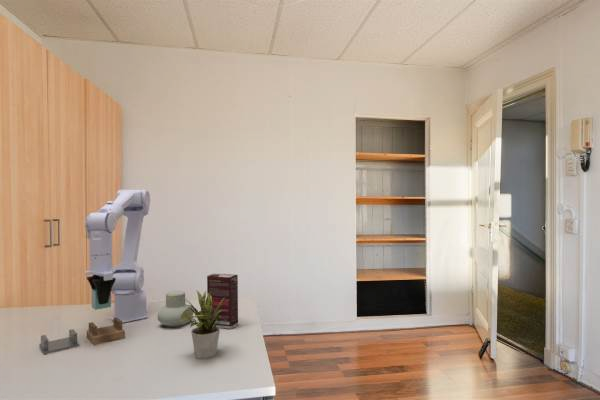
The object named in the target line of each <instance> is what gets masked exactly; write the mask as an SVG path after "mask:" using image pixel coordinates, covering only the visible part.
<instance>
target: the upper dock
mask: <svg viewBox="0 0 600 400" xmlns="http://www.w3.org/2000/svg"><path fill="white" fill-rule="evenodd" d="M113 320H114V321H113ZM113 320H112V321H113V324H112V325H107V326H103V327H98V326H97V325H96V323H94V322H93V321H92V322H88V330H86V339H87V340H88V341H89V342H90V343H91V344H92V345H93V346H98V345H102V344H105V343H110V342H113V341H118V340H123V339H126V332H125V330H124V329H123V323H122V321H121V320H120V319H119V318H117V317H116V318H113Z"/></svg>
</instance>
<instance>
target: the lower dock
mask: <svg viewBox="0 0 600 400" xmlns="http://www.w3.org/2000/svg"><path fill="white" fill-rule="evenodd" d="M68 332H69V333H68V334H69V336H68V337H63V338H59V339H58V338H57V339H54V340H50V341H49V338H48V336H47V335H46V334H44V335H40V343H38V347H39V349H40V350H41V352H42V354H43V355H47V354H48V355H49V354H52V353H53V354H54V353H56V352H61V350H62V351H65V349H66V350H69V348H70V349H73V347H74V348H78V346H79V347H80V343H79V342H78V332H77V331H76V330H75V329H74V328H73V329H72V328H71V329H69V331H68Z"/></svg>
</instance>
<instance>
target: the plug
mask: <svg viewBox="0 0 600 400" xmlns="http://www.w3.org/2000/svg"><path fill="white" fill-rule="evenodd" d="M111 307H112V291H111V292H110V296H109V300H108V303H106V304H99V302H98V296H97V291H96V289H92V288H91V308H92V309H93V310H95V311H96V310H101V309H107V308H111Z"/></svg>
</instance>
